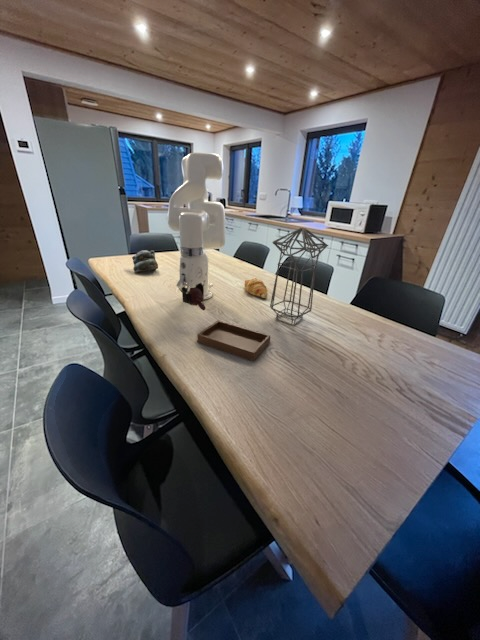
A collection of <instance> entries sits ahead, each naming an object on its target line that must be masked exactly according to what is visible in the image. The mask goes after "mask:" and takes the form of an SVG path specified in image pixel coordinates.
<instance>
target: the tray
mask: <svg viewBox="0 0 480 640" xmlns="http://www.w3.org/2000/svg"><path fill="white" fill-rule="evenodd" d="M196 338H197V339H196V340H197V341H196V342H198V343H200V344H203V345H206V346H209V347H212V348H214V349H218V350H221V351H224V352H227V353H229V354H232V355H235V356H238V357H241V358H244V359H247V360H249V361H252V362H254V361H255V360H256V359H257V358H258V357H259V355H261V353H262V352H263V351H264V350H266V347H267V346H268V345H269V344H270V343H271V335H270V334H267V333H264V332H260V331H258V330H257V331H256V330H254V329H250V328H246V327H244V326H239V325H236V324H232V323H229V322H225V321H223V320H219V319H218V320H216V321H214V322H213V323H211V324H210V325H209V326H207V327H206V328H204V329H203V330H201V331H200V332H199V333H197V335H196Z"/></svg>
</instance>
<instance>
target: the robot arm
mask: <svg viewBox="0 0 480 640" xmlns="http://www.w3.org/2000/svg"><path fill="white" fill-rule="evenodd" d="M181 172H182V178H183V179H182V181H183V182H182V184H181V185H180V186H178V188H177V189H176V190H175V191H174V192H173V193H172V195H171V196H170V198H169V201H168V210H167V224H168V227H169V228H170V230H172V231H174V232H179V243H180V244H179V245H180V248H179V249H180V253H179V254H180V258H179V280H178V281H177V283H176V287H177V288H178V290H179V291H180V292H181V293H182V302H183V303H185V304H188V305H190V303H191V296H190V293H189V291H190V288H194V287H197V288H199V289H200V290H201V292H202V294H203V301H204V300H208V299H211V298H212V296H213V293H212V291H210V289H212V288H214V284H213V283H209V278H210V277H209V274H210V273H209V267H210V266H209V264H210V263H209V260H210V259H209V257H208V255H207V253H206V252H205V250H204V249H206V250H207V249H211V250H212V249H213V250H220V249H223V248H224V246H225V244H226V210H225V206H224V204H223V203H221V202H220V201H209V192H208V189H207V180H221V179H222V177H223V175H224V161H223V159H222V156H221V155H220V154H218V153H212V152H211V153H209V152H190V153H188V154H187V155H185V156H184V157H183V158H182V159H181ZM186 204H187V208H181V207H182V206H184V205H186ZM186 288H187V289H186Z"/></svg>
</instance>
